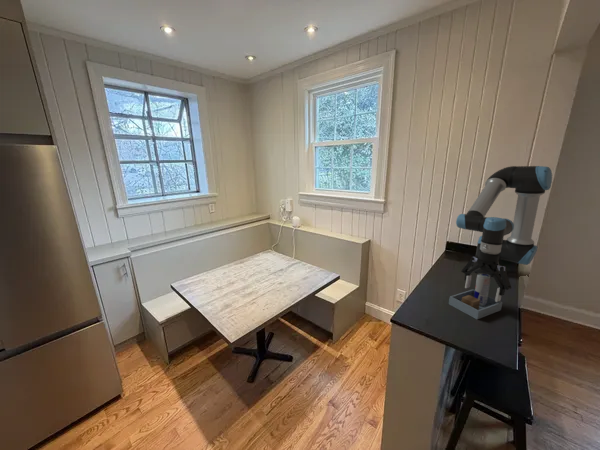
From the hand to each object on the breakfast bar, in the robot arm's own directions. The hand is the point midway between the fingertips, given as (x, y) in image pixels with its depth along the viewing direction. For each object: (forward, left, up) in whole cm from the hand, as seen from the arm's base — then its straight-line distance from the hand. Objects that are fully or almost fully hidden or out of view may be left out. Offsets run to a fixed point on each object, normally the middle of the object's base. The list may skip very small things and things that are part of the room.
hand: (481, 293), depth 115 cm
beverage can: (0, 0, -5) cm, 5 cm away
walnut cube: (+8, 0, -5) cm, 10 cm away
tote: (+4, 0, -6) cm, 7 cm away
